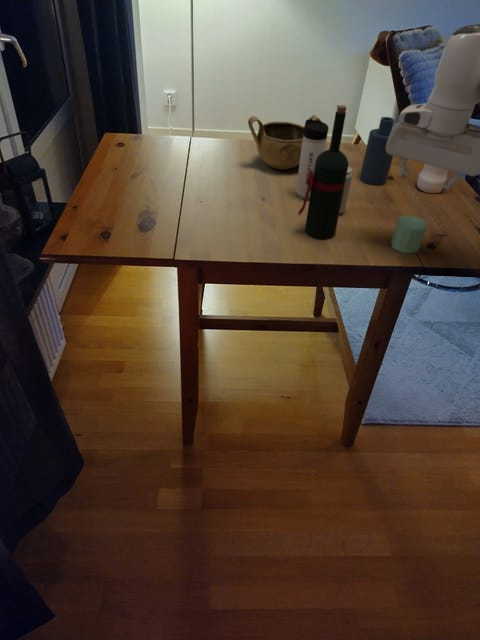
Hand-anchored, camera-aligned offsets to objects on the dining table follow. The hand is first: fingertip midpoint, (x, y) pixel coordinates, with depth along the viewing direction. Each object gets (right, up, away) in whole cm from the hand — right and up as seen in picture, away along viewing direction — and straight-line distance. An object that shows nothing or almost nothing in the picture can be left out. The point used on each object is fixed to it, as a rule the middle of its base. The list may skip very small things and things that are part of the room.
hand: (424, 183), depth 102 cm
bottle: (+16, +9, +36) cm, 41 cm away
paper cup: (0, -12, +11) cm, 16 cm away
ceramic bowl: (-28, +19, +45) cm, 56 cm away
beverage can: (-16, -1, +23) cm, 28 cm away
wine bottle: (-22, -8, +14) cm, 27 cm away
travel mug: (-22, +5, +30) cm, 37 cm away
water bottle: (0, +13, +39) cm, 41 cm away
